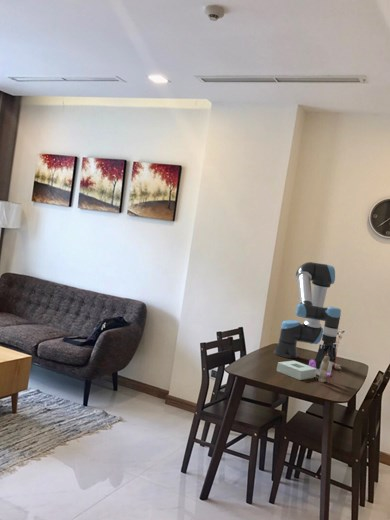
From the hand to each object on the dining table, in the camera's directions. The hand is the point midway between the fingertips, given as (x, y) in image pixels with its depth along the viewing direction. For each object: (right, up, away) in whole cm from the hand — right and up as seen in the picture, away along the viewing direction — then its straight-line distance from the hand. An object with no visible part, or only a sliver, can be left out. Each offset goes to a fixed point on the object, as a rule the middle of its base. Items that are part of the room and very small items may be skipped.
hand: (323, 373), depth 268 cm
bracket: (+2, -4, +16) cm, 17 cm away
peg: (-1, -4, 0) cm, 4 cm away
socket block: (-14, -2, +7) cm, 15 cm away
